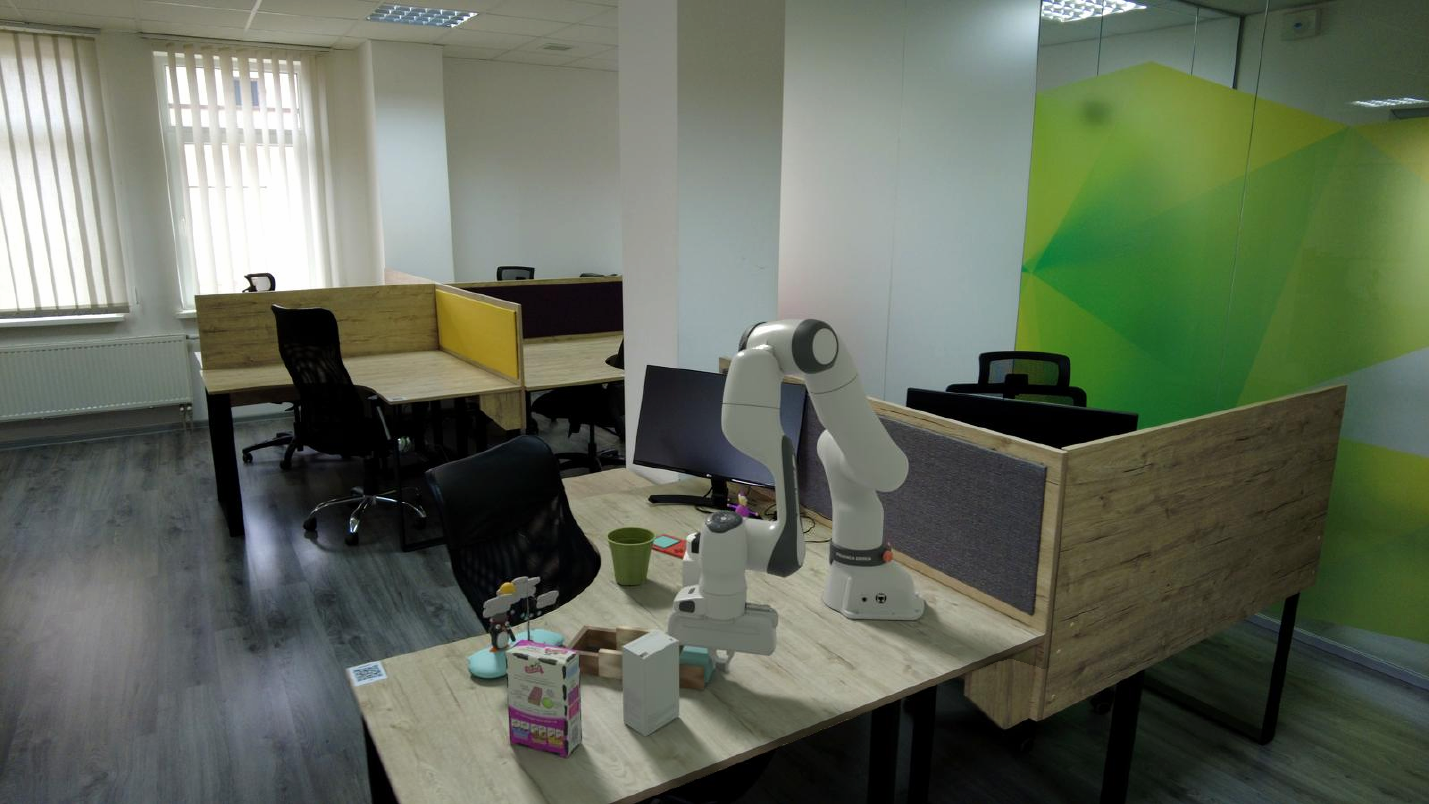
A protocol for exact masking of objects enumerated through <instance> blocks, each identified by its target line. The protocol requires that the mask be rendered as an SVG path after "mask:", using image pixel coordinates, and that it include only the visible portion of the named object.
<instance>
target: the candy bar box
mask: <svg viewBox="0 0 1429 804" xmlns="http://www.w3.org/2000/svg"><path fill="white" fill-rule="evenodd" d="M505 655H506V673H507V674H506V690H507V691H506V692H507V707H508V711H507V712H508V713H507V714H508V731H509V733H508V734H509V743H510V744H513V745H516V746H521V747H525V748H529V749H533V750H536V751H540V752H544V753H549V754H551V755H557V756H561V757H564V758H569V757H570V756H571V755H572V754H573V753H574V751H575V750H576V749H577V748H578V747H579V746H580V745H581V744H582V742H583V729H582V728H583V726H582V724H583V723H582V700H581V699H582V695H581V691H582V690H581V674H580V657H579V651H577V650H572V649H567V648H566V647H560V646H558V647H557V646H552V645H547V644H542V643H537V642H532V641H527V640H520V641H519V642H518V643H516V644H515V645H514V646H513V647H512V648H510V649H509V650H507V651H506V652H505Z"/></svg>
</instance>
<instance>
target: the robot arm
mask: <svg viewBox="0 0 1429 804" xmlns="http://www.w3.org/2000/svg"><path fill="white" fill-rule="evenodd" d="M792 375H802V378H803V381H804V384H805V387H806V389H807V392H808V395H809V398H810V400H811V402H812V405H813V408H814V411H815V413H816V416H817V418H818V420H819V422H820V423H821V425H822V426H823V427H824V428H825V429H824V430H823V431H822V433H821V434H820V436H819V437H818V440H817V442H816V443H817V444H816V450H817V452H816V453H817V456H818V458H819V459H820V461H821V463H822V465H823V467H824V470H825V475H826V478H827V483H828V487H829V492H830V498H831V504H832V505H831V506H832V527H831V528H832V532H831V537H830V540H829V545H828V564H829V569H828V575H827V579H826V583H825V586H824V590H823V593H822V595H821V598H822V601H823V603H824V604H825V605H826V606H828V607H829V608H830V609H832V610H835V611H838V612H840V613H841V614H842V615H843V616H844V617H845V618H848V619H853V620H855V619H857V620H859V619H860V620H862V619H863V620H892V621H893V620H894V621H895V620H896V621H897V620H898V621H900V620H901V621H916V620H918V619H920V618H921V617H922V616H923V614H924V613H925V600H924V597H923V595H922V594H921V592H919V591H917V590H916V589H915V588H916V587H915V583H914V580H913V577H912V575H911V574H910V573H909V571H907V570H906V569H905V568H903V567H902V566H901V565H900V564H899V563H897V562H896V561H895V560H893V558H894V557H893V556H894V554H893V552H892V547H891V543H890V542H889V541H888V542H886V541H884V540H883V537H884V534H883V533H884V532H883V531H884V518H885V517H884V515H885V510H884V507H883V505H882V502H881V500H880V498H879V496H878V494H877V492H884V493H888V492H889V493H890V492H893V491H895V490H897V489H899V487H901V486H903V483H904V482H906V481H905V480H906V479H907V476H908V473H909V469H910V468H909V467H910V466H909V465H910V463H909V459H908V457H907V455H906V454H905V452H903V451H902V449H900V447H899V446H898V445H897V444H896V443H895V441H894V440H893V438H892V437H891V436H890V434H889V432H888V430H887V429H886V428H885V426H884V425H883V423H882V422H881V420H880V418H879V417H878V416H877V414H876V412H875V410H874V409H873V407H872V405H871V403H870V401H869V399H868V396H867V394H866V391H865V388H864V386H863V382H862V380H861V378H860V375H859V372H858V369H857V366H856V365H855V361H854V360H853V357H852V356H851V353H850V351H849V350H848V348H847V346H846V344H845V342H844V341H843V339H842V338H841V336H840V335H839V334H838V333H837V332H836V331H835V330H834V329H833V328H832V326H831V325H830V324H829V323H827V322H825V321H823V320H820V319H815V318H805V319H802V318H782V319H780V320H779V319H778V320H772V321H761V322H757V323H754V324H752V325H750V326H748V327H747V328H746V329H745V330H744V332H743V333H742V335H741V337H740V340H739V343H738V350H737V353H735V354H734V356H733V357H732V359H731V361H730V363H729V368H728V371H727V375H726V380H725V385H724V389H723V396H722V405H721V417H720V418H721V419H720V420H721V430H722V433H723V435H724V436H725V438H726V440H727V441H728V443H730V445H731V446H732V447H734V448H735V449H736V450H738V451H740V452H741V453H742V454H744V455H746V456H748V457H750V458H752V459H754V460H756V461H757V462H759V463H761V464H762V465H764V466H765V467H766V468H767V469H768V470H769V471H770V472H771V474H772V477H773V479H774V488H775V503H776V512H777V513H776V516H777V517H776V518H777V520H773V521H771V520H766V519H759V518H758V519H756V518H750V517H748V518H746V517H742V516H741V515H740V514H738V513H736V512H735V511H734V510H733V511H732V510H719V511H718V510H717V511H713V512H712V513H710V514H708V515H707V516H705V518H703V522H702V527H701V530H700V533H701V536H700V544H699V566H700V570H701V576H700V579H699V584H698V585H693V586H688V587H684V588H682V587H681V589H680V590H679V591H678V593H677V594H676V595H675V597H674V600H673V603H672V608H673V610H672V611H671V613H670V615H669V618H668V622H667V623H668V624H667V635H669V636H671V637H673V638H675V639H676V640H679V645H684V646H692V647H700V648H707V653H708V655H709V657H710V658H711V660H712V662H713V671H722V672H729V671H730V670H729V669H730V668H731V667H730V665H731V663H730V662H731V661H732V660H733V657H734V656H735V654H736V653H741V654H749V655H758V656H759V655H760V656H766V657H770V656H771V655H773V654H774V653H775V651H776V649H777V643H778V640H777V629H776V628H777V627H778V625H779V613H778V612H777V610H776V609H775V608H774V607H772V606H771V605H769V604H757V603H754V602H747V594H748V593H747V590H748V586H747V585H748V583H747V580H746V579H747V578H746V575H745V574H746V570H747V571H753V572H754V571H755V572H760V573H766V574H767V575H771V576H776V577H780V578H784V579H786V578H787V577H790V576H792V575H793V574H795V573H796V572H798V571H799V570H800V569H801V568H802V567H803V565H804V561H805V558H806V552H807V551H806V549H807V548H806V540H805V534H804V528H803V526H804V525H803V521H802V510H801V497H800V486H799V485H800V483H799V473H798V464H797V463H798V461H797V455H796V448H795V445H794V442H793V440H792V438H790V437H789V436H787V435H786V434H785V432H784V430H783V427H782V423H781V417H780V412H781V411H780V409H781V397H782V396H781V395H782V394H781V393H782V391H781V389H782V387H781V385H782V383H783V380H784V378H785V376H792ZM716 649H717V650H718V651H725V652H726V656H727V657H726V658H725V657H719V655H718V653H717V652H716Z"/></svg>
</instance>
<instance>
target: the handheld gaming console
mask: <svg viewBox="0 0 1429 804" xmlns="http://www.w3.org/2000/svg"><path fill="white" fill-rule="evenodd" d="M651 550H654V551H657V552H659V553H663V554H665V555H668V556H670V557H675V558H678V559H681V560H683V558H684V555H685V552H686V550H687V539H686V540H685V539H683V538H680V537H676V536H673V535H669V534H665V533H662V534H660V535H658V536H656V539H655V540H654V543H653V547H652V549H651Z"/></svg>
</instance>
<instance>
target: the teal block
mask: <svg viewBox="0 0 1429 804" xmlns="http://www.w3.org/2000/svg"><path fill="white" fill-rule="evenodd" d="M679 664H684V665H692V666H700V667H704V684H705V683H706V684H709V681H710V678H711V676H712V674H713V671H714V670H713V662H712V660H711V658H710V657H709V655H708V653H707V648H700V647H692V646H684V648H683V650H682V652H681V654H680V656H679Z"/></svg>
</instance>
